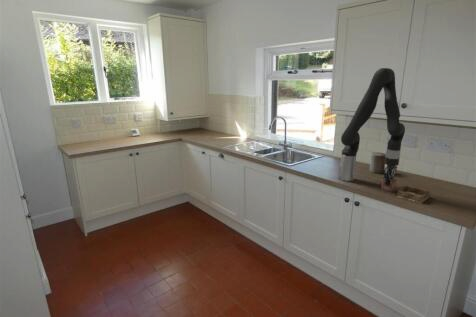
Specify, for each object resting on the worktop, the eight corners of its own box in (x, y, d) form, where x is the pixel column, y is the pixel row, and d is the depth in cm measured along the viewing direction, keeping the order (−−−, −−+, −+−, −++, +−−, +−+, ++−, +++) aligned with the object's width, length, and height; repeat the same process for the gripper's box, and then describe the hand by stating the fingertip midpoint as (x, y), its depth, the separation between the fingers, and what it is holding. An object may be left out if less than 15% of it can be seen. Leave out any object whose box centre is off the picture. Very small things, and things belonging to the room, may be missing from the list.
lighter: (379, 189, 178) (381, 173, 176) (381, 187, 180) (383, 172, 178) (393, 192, 173) (396, 176, 170) (395, 191, 175) (398, 175, 172)
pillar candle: (386, 172, 208) (389, 152, 205) (377, 174, 204) (380, 154, 201) (375, 169, 217) (377, 149, 213) (366, 170, 213) (368, 151, 209)
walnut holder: (396, 196, 167) (397, 190, 166) (404, 190, 175) (405, 185, 174) (421, 203, 158) (422, 197, 157) (428, 197, 166) (430, 191, 165)
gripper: (390, 153, 178) (386, 179, 183) (381, 157, 169) (377, 185, 174) (403, 155, 173) (399, 182, 177) (394, 160, 164) (390, 188, 168)
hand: (388, 183), depth 175 cm, fingers closed on lighter, 3 cm apart
